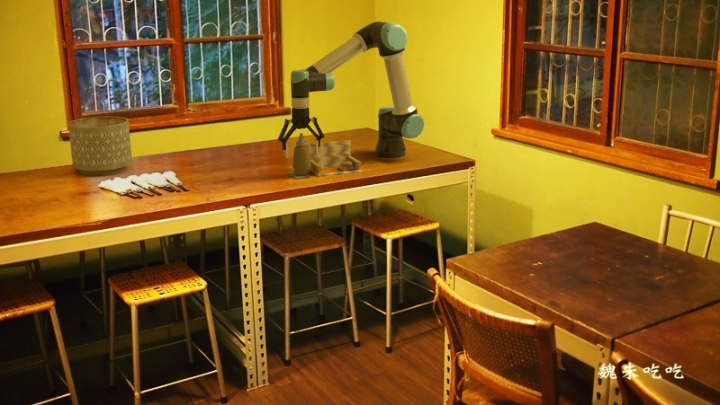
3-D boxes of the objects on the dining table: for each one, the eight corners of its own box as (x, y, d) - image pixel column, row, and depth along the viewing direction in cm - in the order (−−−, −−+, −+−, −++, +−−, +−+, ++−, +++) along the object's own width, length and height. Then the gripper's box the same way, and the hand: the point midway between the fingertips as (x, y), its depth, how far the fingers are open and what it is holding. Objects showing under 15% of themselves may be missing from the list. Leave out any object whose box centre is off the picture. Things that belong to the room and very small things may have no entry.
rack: (349, 166, 362) (349, 140, 359) (362, 174, 348) (362, 147, 344) (307, 170, 355) (307, 143, 352) (319, 178, 341) (318, 151, 337)
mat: (308, 171, 353) (308, 170, 353) (316, 177, 343) (316, 176, 343) (288, 173, 350) (288, 172, 349) (295, 179, 340) (295, 178, 340)
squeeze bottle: (308, 176, 342) (307, 135, 337) (290, 176, 343) (289, 134, 338) (313, 172, 349) (312, 132, 344) (296, 171, 351) (294, 131, 346)
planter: (63, 170, 357) (57, 122, 351) (113, 161, 375) (109, 114, 368) (91, 180, 340) (86, 129, 334) (143, 169, 358) (139, 120, 352)
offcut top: (350, 164, 355) (350, 160, 355) (352, 166, 351) (352, 163, 350) (341, 164, 355) (341, 161, 354) (343, 167, 350) (343, 163, 349)
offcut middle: (349, 167, 356) (349, 163, 356) (354, 169, 352) (354, 166, 351) (339, 168, 355) (339, 164, 354) (344, 171, 350) (344, 167, 349)
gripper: (325, 103, 345) (326, 151, 351) (269, 107, 337) (271, 156, 343) (331, 106, 339) (331, 155, 345) (274, 110, 330) (276, 160, 336)
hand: (301, 155), depth 344 cm, fingers open, 13 cm apart
